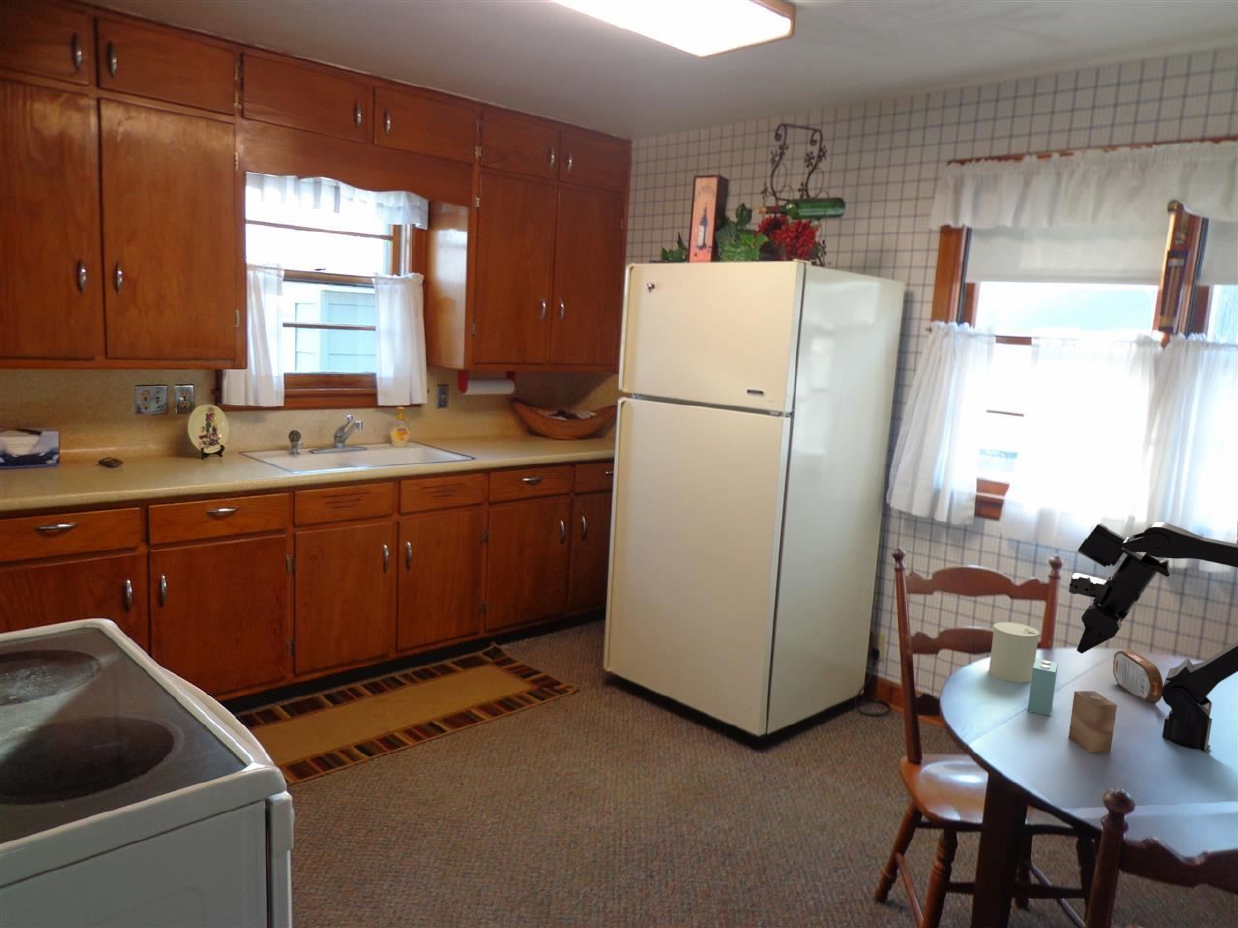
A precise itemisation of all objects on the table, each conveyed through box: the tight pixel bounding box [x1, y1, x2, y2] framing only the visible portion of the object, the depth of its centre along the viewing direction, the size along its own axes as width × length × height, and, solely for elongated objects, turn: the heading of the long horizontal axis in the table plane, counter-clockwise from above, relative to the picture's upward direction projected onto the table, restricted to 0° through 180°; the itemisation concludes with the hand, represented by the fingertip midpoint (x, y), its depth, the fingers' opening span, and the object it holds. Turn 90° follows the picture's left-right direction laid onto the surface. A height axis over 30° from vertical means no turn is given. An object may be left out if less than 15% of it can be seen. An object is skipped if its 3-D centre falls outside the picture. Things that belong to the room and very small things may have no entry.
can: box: [988, 621, 1040, 684], centre depth 192 cm, size 9×9×12 cm
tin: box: [1112, 649, 1164, 704], centre depth 188 cm, size 15×3×8 cm, turn 179°
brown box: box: [1068, 690, 1118, 754], centre depth 160 cm, size 4×6×9 cm, turn 9°
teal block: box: [1027, 658, 1059, 717], centre depth 175 cm, size 4×6×9 cm, turn 150°
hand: (1083, 645), depth 172 cm, fingers open, 9 cm apart
